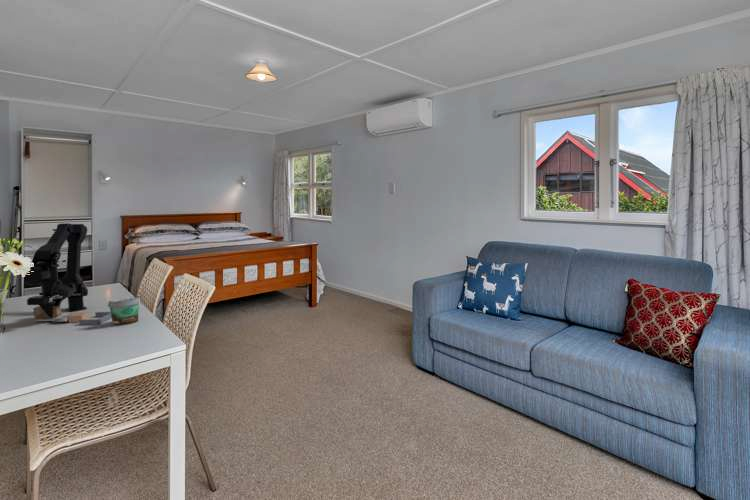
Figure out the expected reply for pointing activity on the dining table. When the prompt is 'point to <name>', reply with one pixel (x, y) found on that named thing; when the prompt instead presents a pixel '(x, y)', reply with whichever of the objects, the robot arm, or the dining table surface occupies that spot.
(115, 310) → the food container
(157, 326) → the dining table surface
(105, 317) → the frame
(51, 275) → the robot arm
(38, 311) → the turner
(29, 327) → the dining table surface
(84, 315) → the salmon pink box
